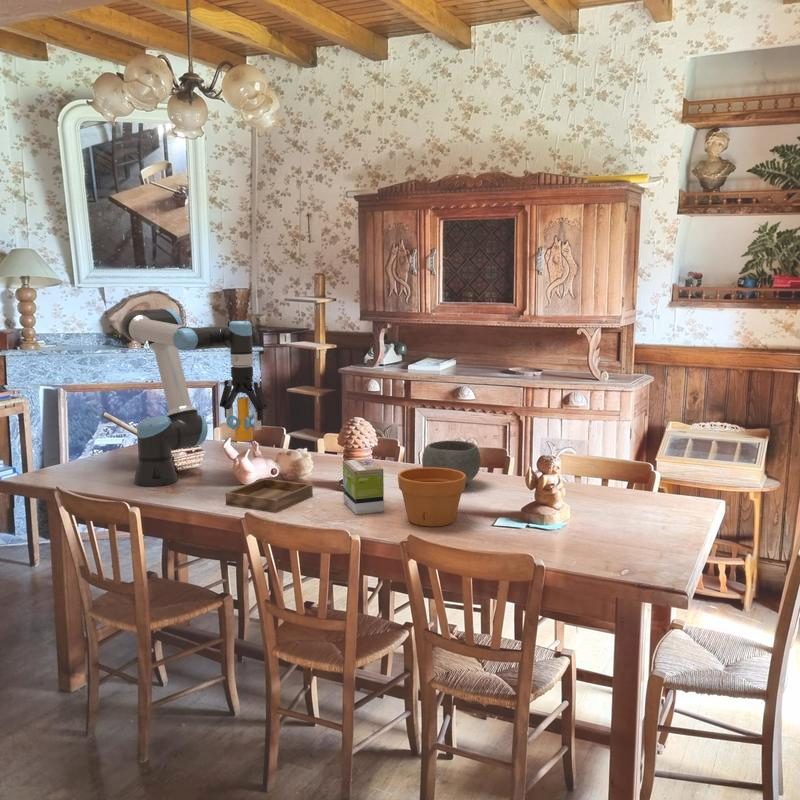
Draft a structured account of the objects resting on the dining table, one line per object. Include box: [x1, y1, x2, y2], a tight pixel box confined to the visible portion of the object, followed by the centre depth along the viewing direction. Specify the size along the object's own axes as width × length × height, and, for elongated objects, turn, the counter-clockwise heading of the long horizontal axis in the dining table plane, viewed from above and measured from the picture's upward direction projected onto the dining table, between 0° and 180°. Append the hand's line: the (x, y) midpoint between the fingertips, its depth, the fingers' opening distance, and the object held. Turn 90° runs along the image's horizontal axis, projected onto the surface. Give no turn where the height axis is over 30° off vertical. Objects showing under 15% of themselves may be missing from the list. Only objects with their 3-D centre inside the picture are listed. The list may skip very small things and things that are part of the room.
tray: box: [225, 477, 314, 513], centre depth 283 cm, size 20×22×4 cm
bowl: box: [421, 440, 482, 485], centre depth 302 cm, size 21×21×15 cm
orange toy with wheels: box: [226, 396, 255, 443], centre depth 291 cm, size 12×10×15 cm
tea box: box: [342, 458, 385, 515], centre depth 274 cm, size 15×10×15 cm, turn 19°
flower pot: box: [397, 467, 466, 528], centre depth 260 cm, size 21×21×15 cm
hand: (243, 428), depth 292 cm, fingers closed on orange toy with wheels, 11 cm apart
